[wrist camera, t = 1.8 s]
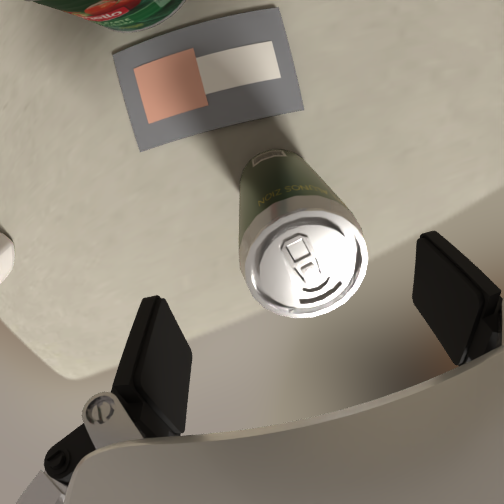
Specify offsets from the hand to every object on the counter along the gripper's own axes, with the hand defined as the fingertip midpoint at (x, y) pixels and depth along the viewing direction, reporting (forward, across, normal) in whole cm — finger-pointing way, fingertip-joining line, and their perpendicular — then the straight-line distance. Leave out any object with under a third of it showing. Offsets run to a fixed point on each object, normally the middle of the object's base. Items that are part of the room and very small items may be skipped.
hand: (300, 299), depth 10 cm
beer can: (+14, -1, 0) cm, 14 cm away
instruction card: (+14, +2, -9) cm, 16 cm away
